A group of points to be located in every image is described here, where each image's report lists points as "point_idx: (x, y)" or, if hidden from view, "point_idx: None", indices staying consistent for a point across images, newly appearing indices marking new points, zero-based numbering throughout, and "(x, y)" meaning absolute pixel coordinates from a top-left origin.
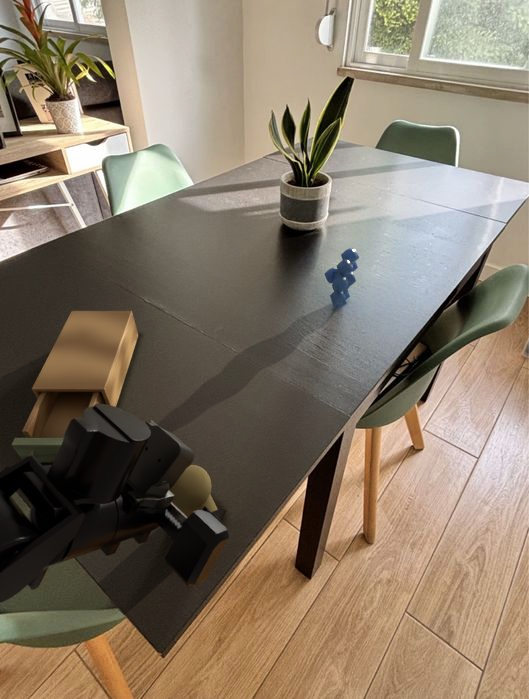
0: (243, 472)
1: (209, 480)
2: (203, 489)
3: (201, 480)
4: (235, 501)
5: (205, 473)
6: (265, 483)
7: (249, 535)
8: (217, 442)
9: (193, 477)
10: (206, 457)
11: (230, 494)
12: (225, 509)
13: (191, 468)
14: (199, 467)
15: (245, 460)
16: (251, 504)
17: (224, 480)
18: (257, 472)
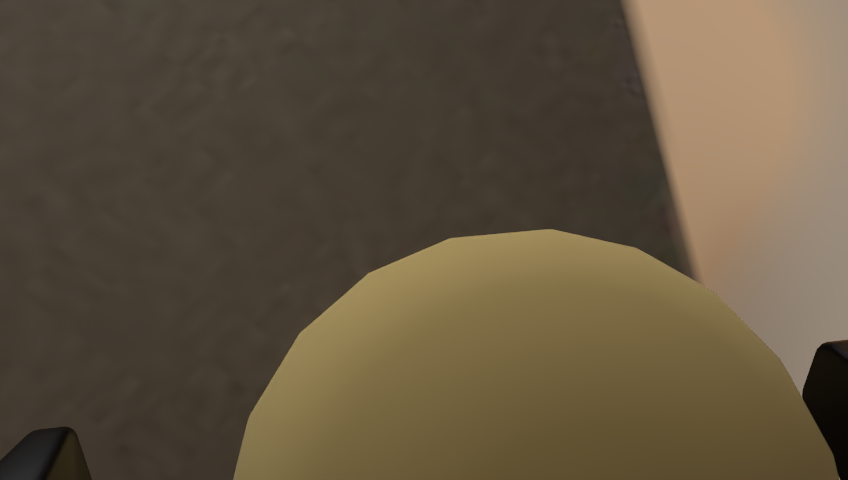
0: (362, 64)
1: (687, 279)
2: (821, 438)
3: (720, 377)
4: (475, 218)
5: (620, 256)
6: (504, 27)
7: None
8: (71, 34)
9: (620, 448)
10: (102, 153)
11: (420, 210)
12: (837, 341)
13: (443, 368)
14: (487, 260)
15: (308, 4)
16: (551, 165)
17: (321, 177)
18: (420, 10)
